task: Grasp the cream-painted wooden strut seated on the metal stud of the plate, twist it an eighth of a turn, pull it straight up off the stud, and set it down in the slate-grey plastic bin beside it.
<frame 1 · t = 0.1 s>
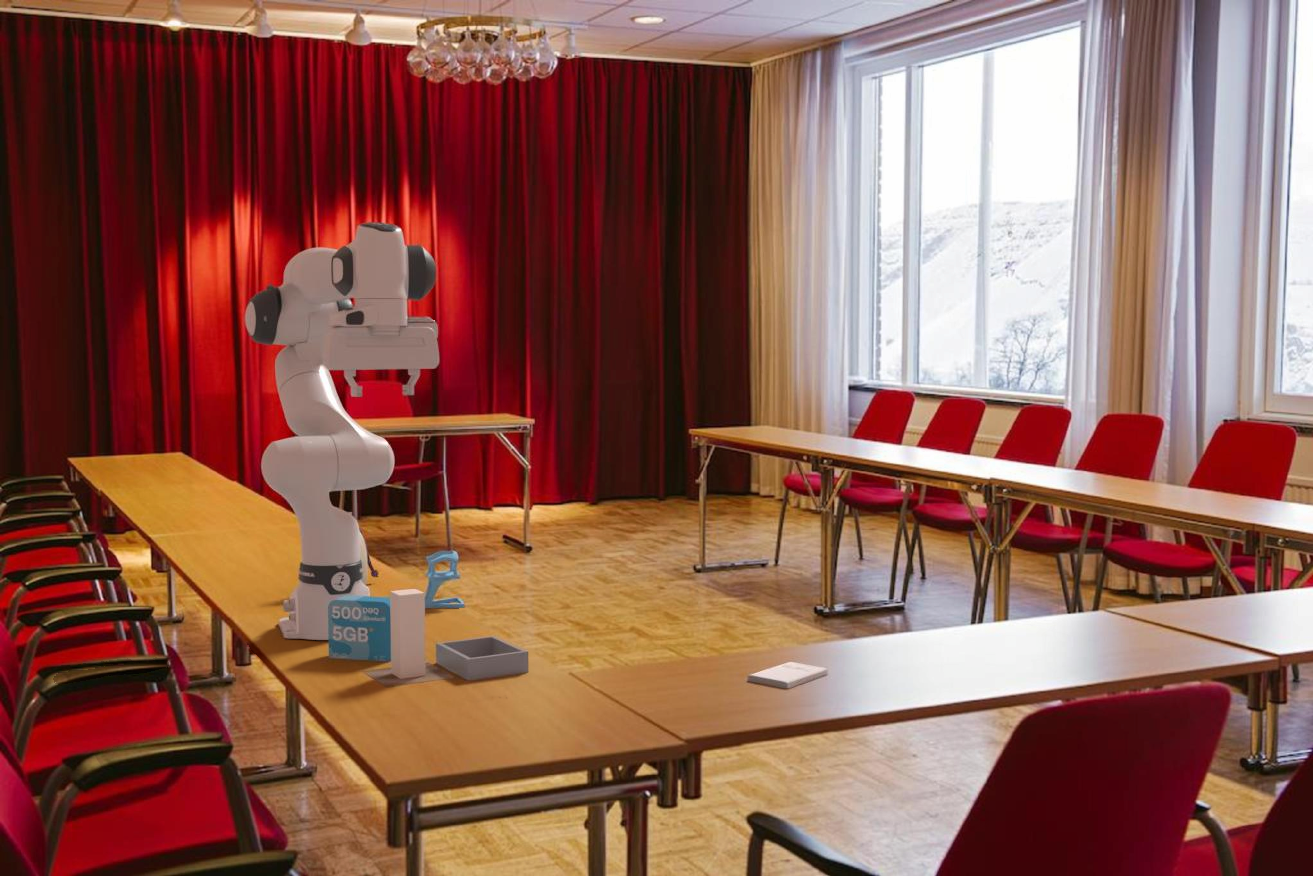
hand: (382, 395, 236), 48 cm above the table, tool pointing down, fingers open, 8 cm apart
light blue frame stand: (443, 606, 293), on the table
data package: (365, 666, 241), on the table
external hard drive: (788, 681, 232), on the table
pouch: (345, 593, 308), on the table
strut: (408, 674, 228), point 1 cm above the table, touching stud plate
stud plate: (408, 683, 228), on the table
bin: (481, 675, 233), on the table
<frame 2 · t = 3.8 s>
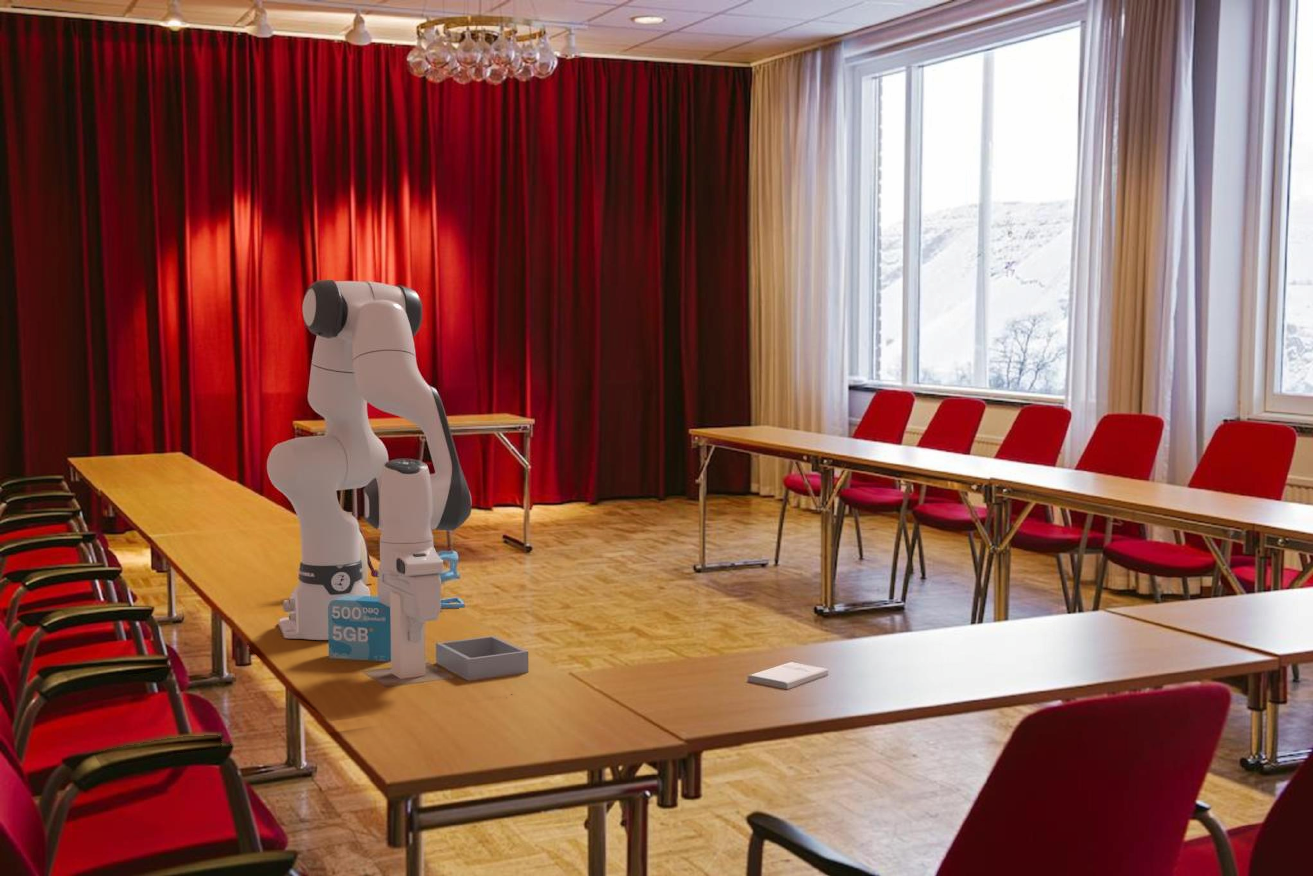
hand: (407, 638, 227), 8 cm above the table, tool pointing down, fingers closed on strut, 4 cm apart
strut: (408, 674, 228), point 2 cm above the table, touching gripper, stud plate
everything else where it was.
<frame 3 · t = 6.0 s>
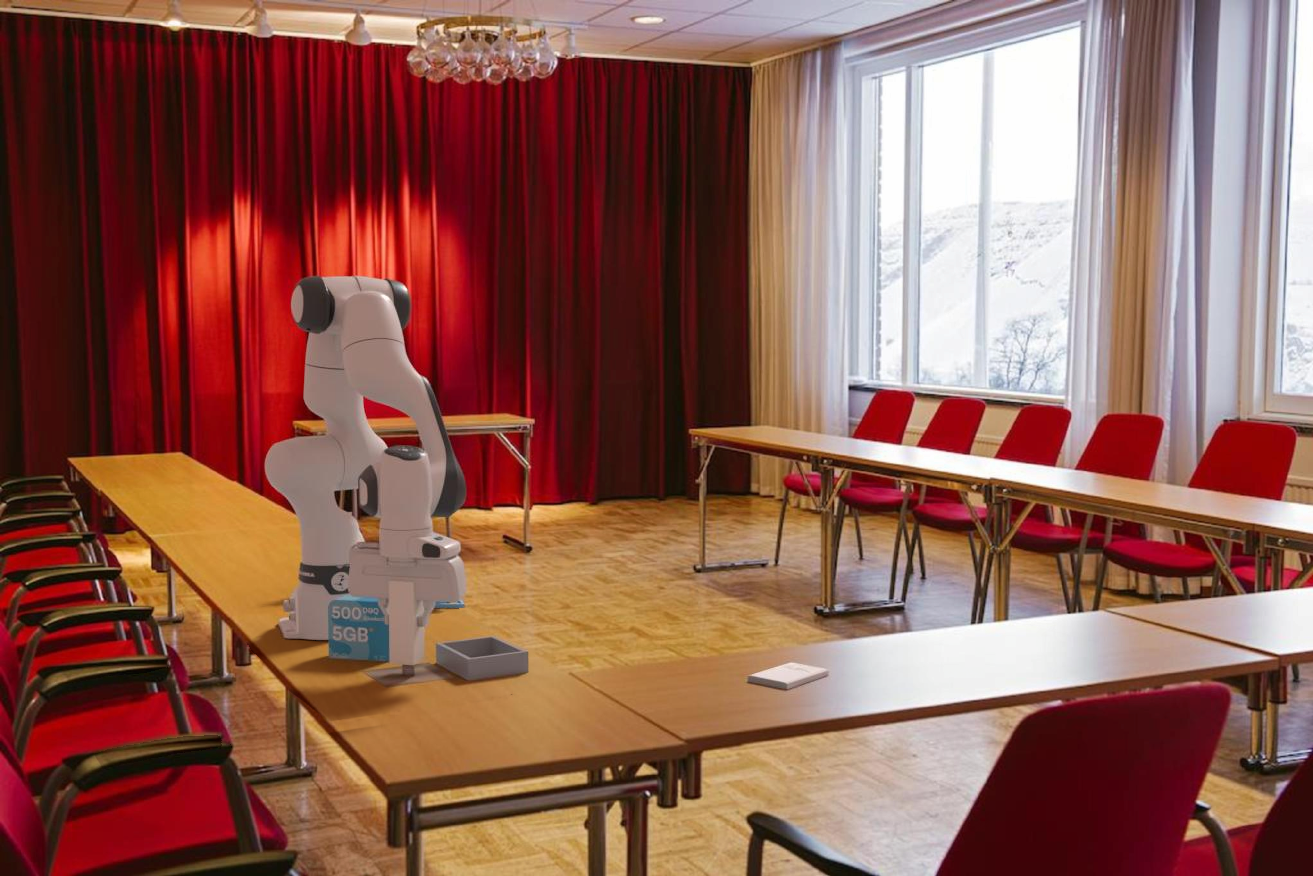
hand: (407, 625, 227), 10 cm above the table, tool pointing down, fingers closed on strut, 4 cm apart
strut: (407, 661, 228), point 4 cm above the table, touching gripper
everything else where it was.
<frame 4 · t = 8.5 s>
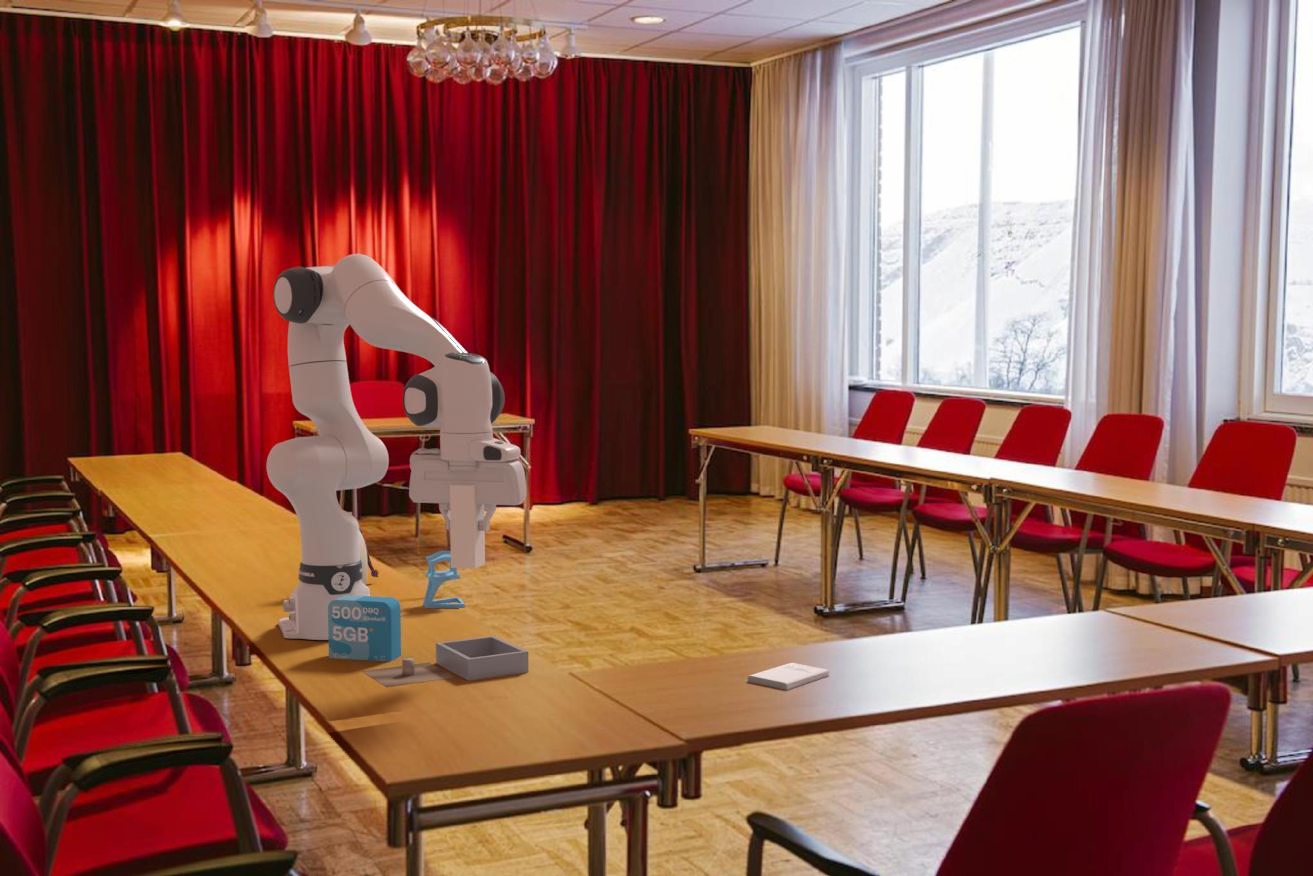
hand: (467, 530, 230), 25 cm above the table, tool pointing down, fingers closed on strut, 4 cm apart
strut: (468, 566, 230), point 19 cm above the table, touching gripper
everything else where it was.
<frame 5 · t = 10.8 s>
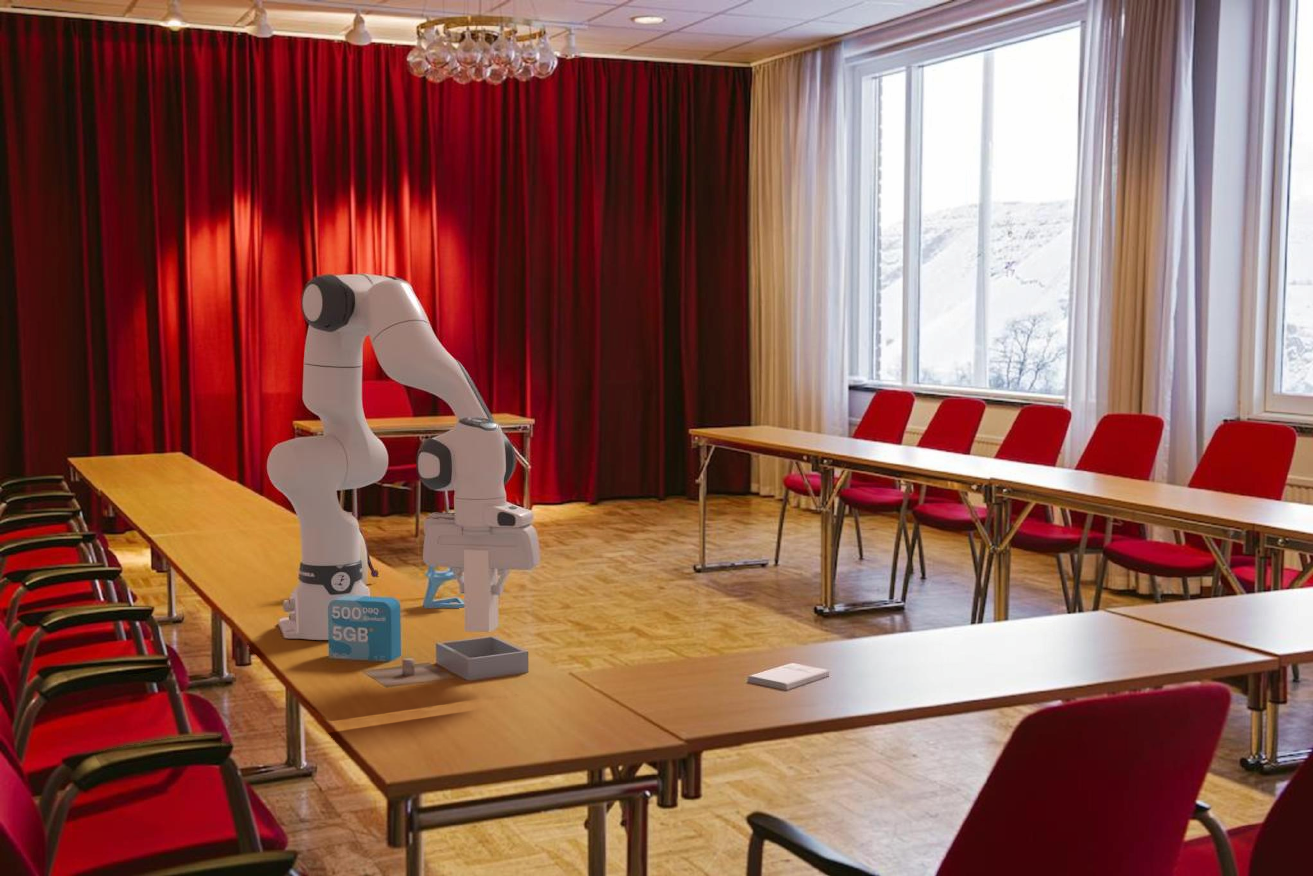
hand: (481, 593, 231), 14 cm above the table, tool pointing down, fingers closed on strut, 4 cm apart
strut: (481, 629, 232), point 8 cm above the table, touching gripper
everything else where it was.
when the fingers open (9 cm above the table, at t = 12.7 s): strut drops 2 cm, resting on bin.
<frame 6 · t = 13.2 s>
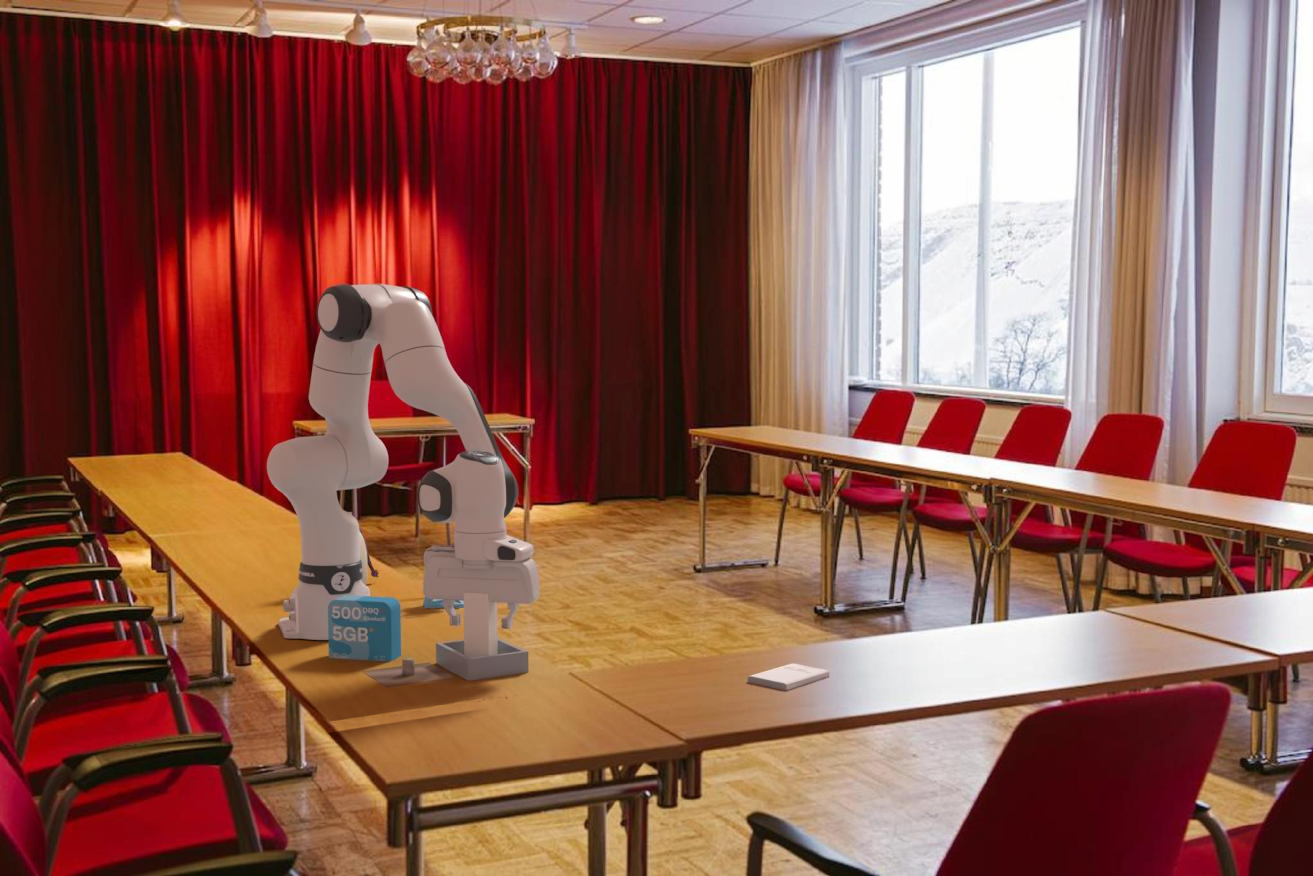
hand: (481, 626, 232), 9 cm above the table, tool pointing down, fingers open, 8 cm apart
strut: (481, 671, 233), point 1 cm above the table, touching bin
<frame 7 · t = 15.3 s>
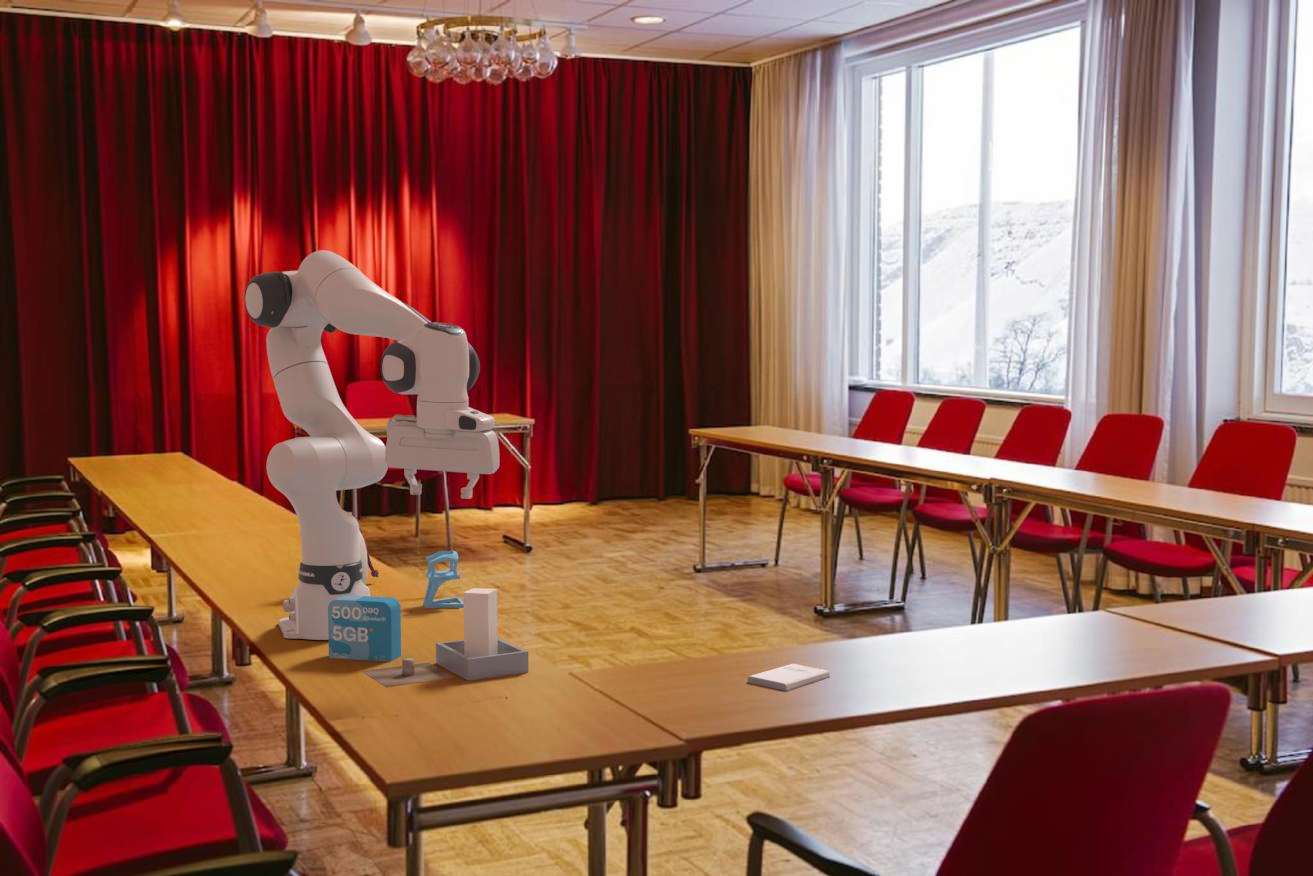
hand: (441, 496, 236), 30 cm above the table, tool pointing down, fingers open, 8 cm apart
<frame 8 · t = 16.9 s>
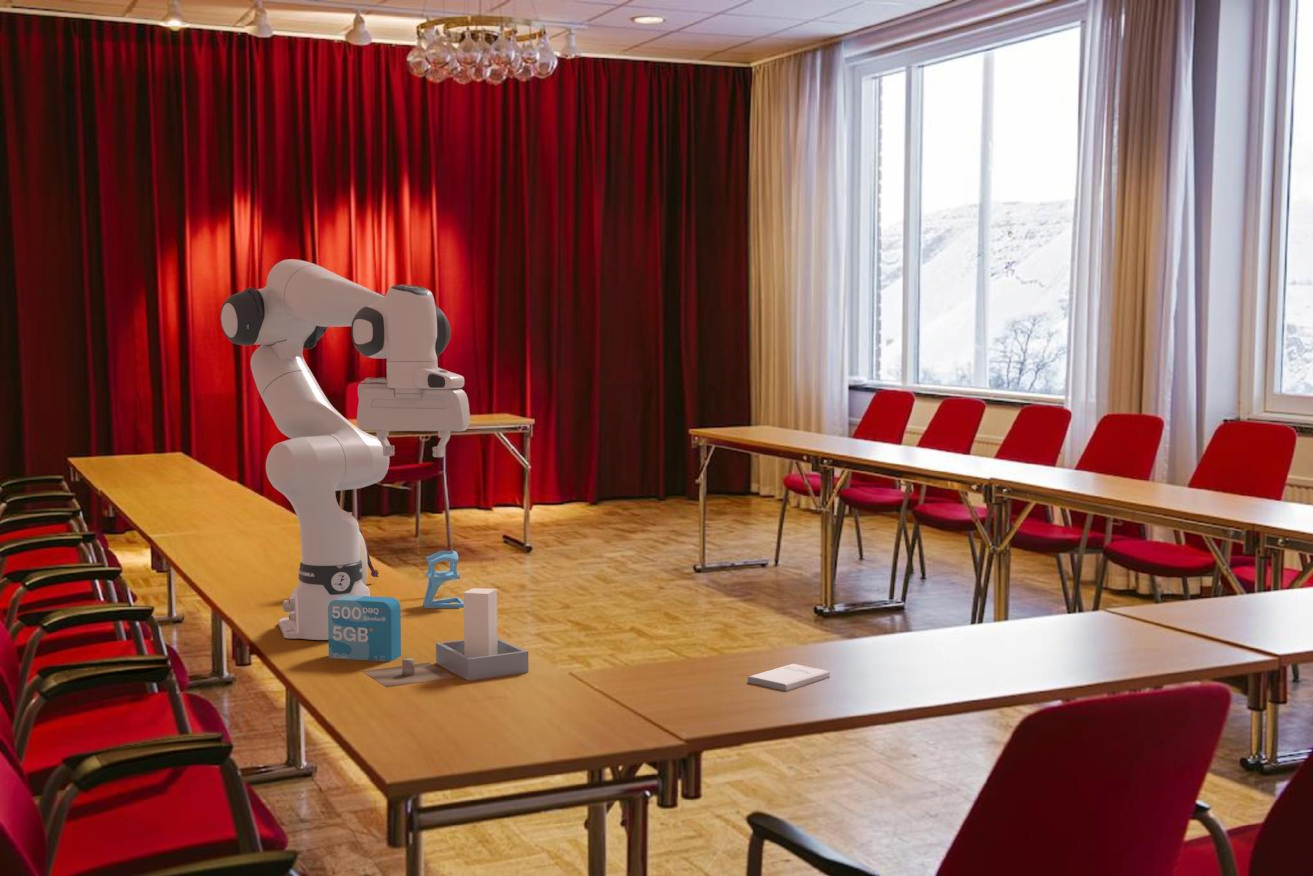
hand: (413, 456, 238), 37 cm above the table, tool pointing down, fingers open, 8 cm apart
at the end: strut inside the target area on the bin (0.1 cm from its centre), point 0.8 cm above the bin's base; strut touching bin; the gripper is holding nothing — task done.
